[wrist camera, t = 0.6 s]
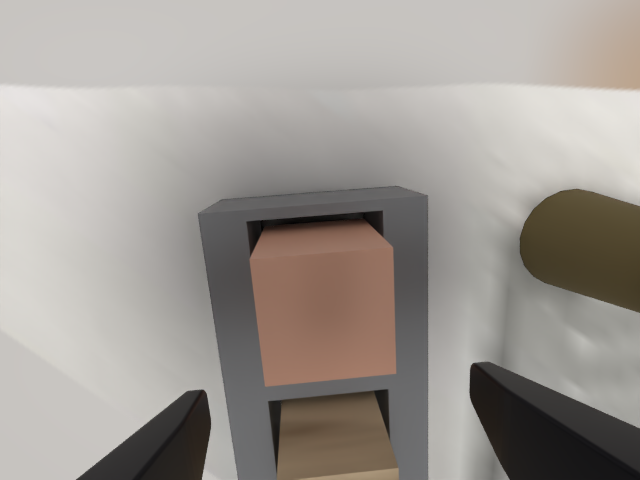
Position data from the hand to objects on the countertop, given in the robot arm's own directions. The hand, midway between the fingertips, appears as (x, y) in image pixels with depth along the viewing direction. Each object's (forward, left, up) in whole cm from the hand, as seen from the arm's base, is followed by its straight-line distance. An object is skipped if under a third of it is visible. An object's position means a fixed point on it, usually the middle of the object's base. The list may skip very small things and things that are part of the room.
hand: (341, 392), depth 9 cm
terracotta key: (0, 0, -10) cm, 10 cm away
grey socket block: (-4, 0, -13) cm, 14 cm away
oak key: (-9, 0, -10) cm, 13 cm away
